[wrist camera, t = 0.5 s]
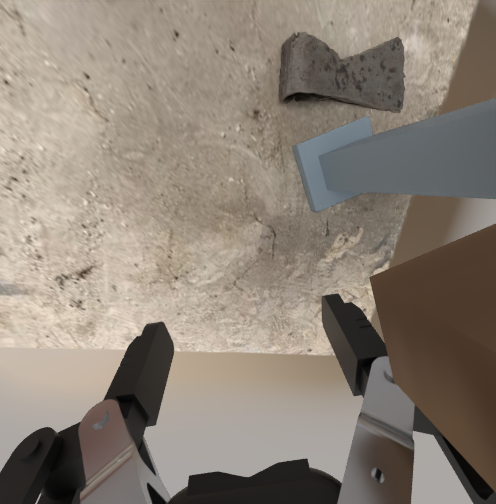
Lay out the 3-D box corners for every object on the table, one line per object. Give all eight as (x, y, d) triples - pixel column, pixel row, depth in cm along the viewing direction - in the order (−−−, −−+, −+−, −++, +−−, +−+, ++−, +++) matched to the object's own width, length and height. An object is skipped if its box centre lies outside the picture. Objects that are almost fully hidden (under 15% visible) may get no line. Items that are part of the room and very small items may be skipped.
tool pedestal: (292, 146, 34) (886, -134, 4) (360, 118, 35) (1399, -339, 4) (311, 210, 38) (729, 325, 7) (374, 184, 38) (1036, 188, 7)
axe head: (431, 25, 31) (419, 110, 34) (397, 46, 36) (389, 119, 39) (290, 1, 26) (291, 104, 28) (272, 29, 30) (274, 116, 33)
